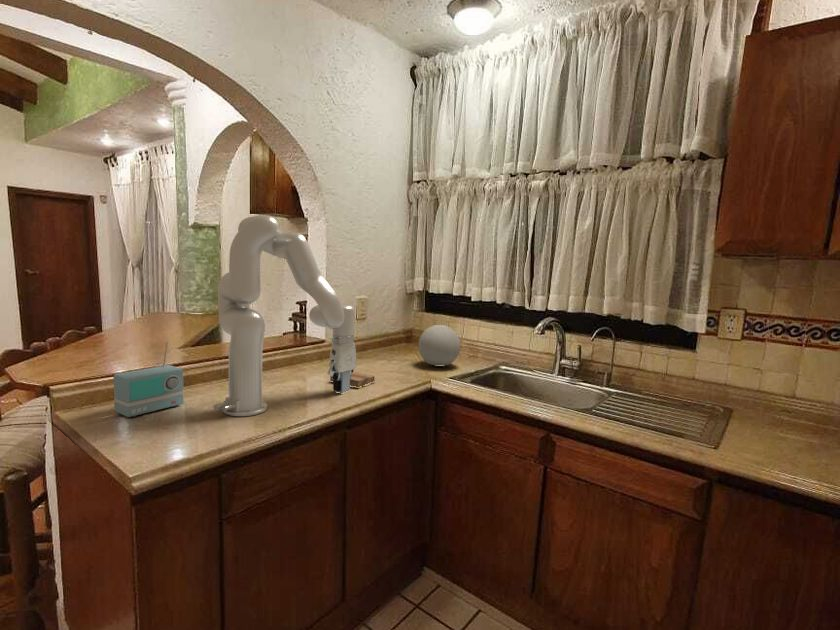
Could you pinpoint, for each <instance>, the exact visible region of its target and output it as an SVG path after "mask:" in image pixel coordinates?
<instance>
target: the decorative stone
mask: <svg viewBox="0 0 840 630" xmlns="http://www.w3.org/2000/svg"><path fill="white" fill-rule="evenodd" d="M460 351H461V340H460V337H459V336H458V333H457V332H456V331H455V330H454V329H452V328H451V327H449V326H447V325H444V324H435V325H431V326H428V327H427V328H426V329H425V330H423V332H422V333H421V335H420V337H419V339H418V352H419V355H420V357H421V359H422V360H423V361H424V362H425V363H426V364H428V365H430V364H431V365H430V366H432V365H447V366H449V365H451V364H453V362H455V360H457V358H458V357H459V355H460Z"/></svg>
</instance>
